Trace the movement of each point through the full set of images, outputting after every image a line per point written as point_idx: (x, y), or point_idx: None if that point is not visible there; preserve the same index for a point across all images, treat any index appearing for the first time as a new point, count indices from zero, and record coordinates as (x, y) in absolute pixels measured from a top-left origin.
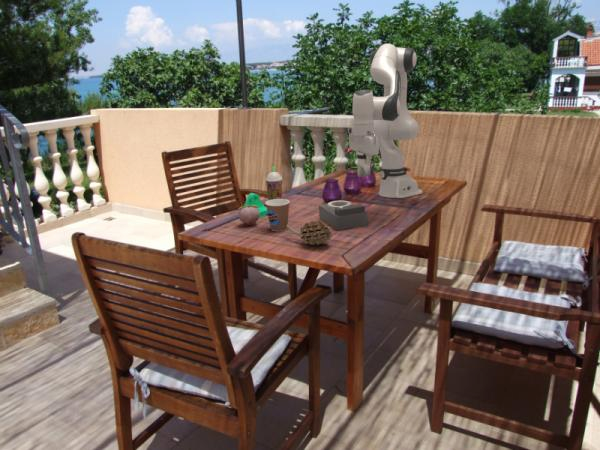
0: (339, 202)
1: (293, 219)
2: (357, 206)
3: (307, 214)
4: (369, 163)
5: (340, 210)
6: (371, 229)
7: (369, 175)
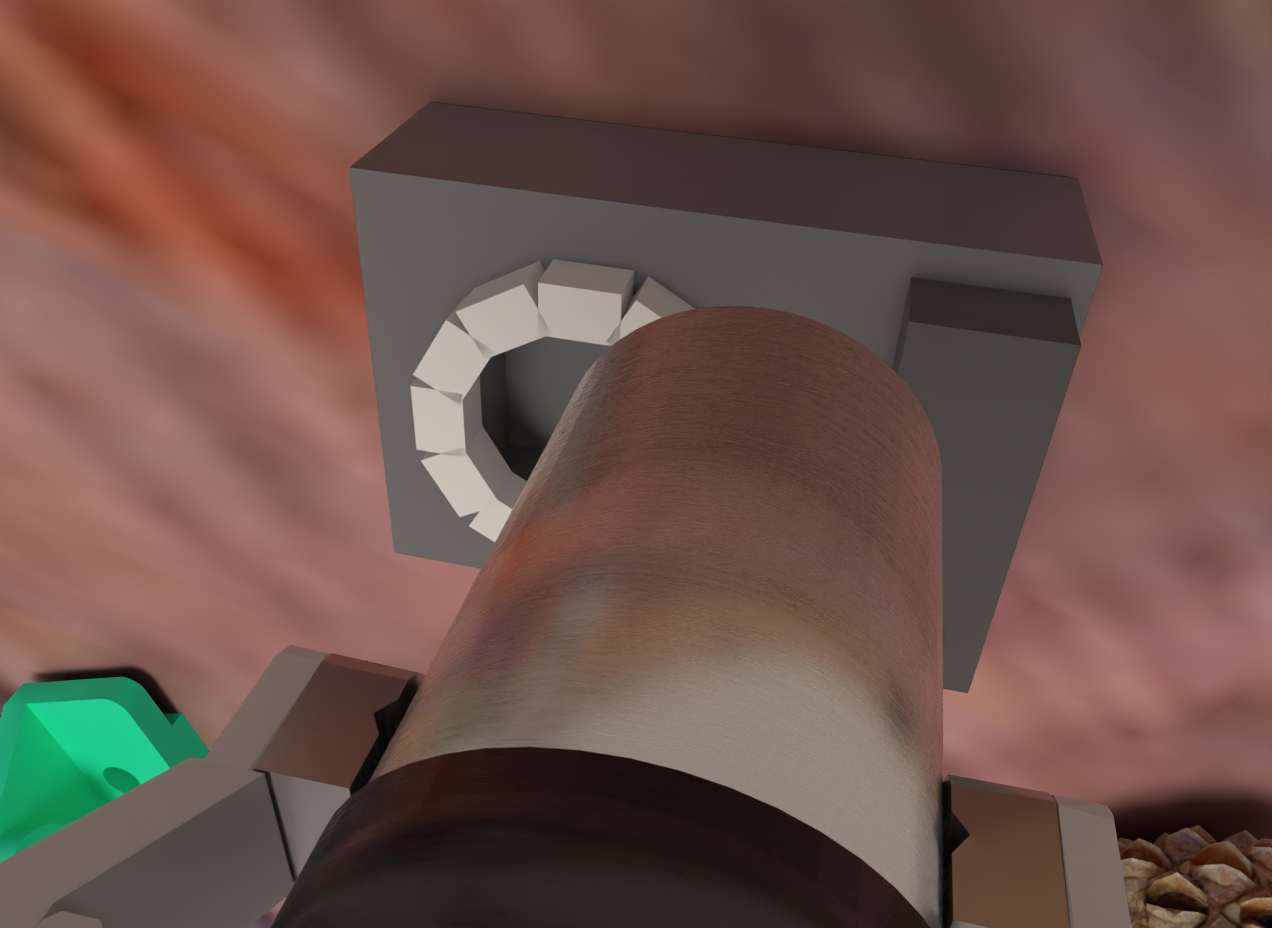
0: (475, 378)
1: (382, 633)
2: (998, 434)
3: (269, 471)
4: (1106, 855)
5: (973, 669)
6: (1261, 235)
7: (928, 421)
